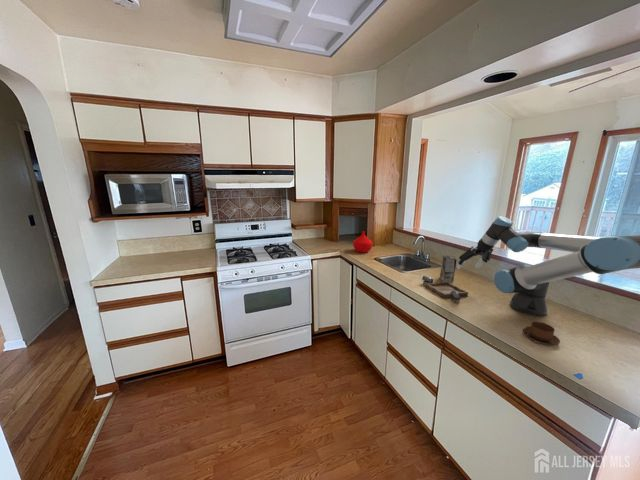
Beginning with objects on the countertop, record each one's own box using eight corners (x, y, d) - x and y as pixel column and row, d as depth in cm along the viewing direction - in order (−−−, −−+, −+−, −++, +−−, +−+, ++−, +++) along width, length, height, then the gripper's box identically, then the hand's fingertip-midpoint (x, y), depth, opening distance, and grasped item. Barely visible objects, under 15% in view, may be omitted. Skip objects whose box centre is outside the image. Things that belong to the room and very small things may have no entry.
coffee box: (453, 283, 164) (457, 259, 161) (442, 282, 166) (446, 258, 162) (449, 278, 173) (452, 255, 170) (439, 277, 174) (442, 255, 171)
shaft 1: (432, 285, 159) (433, 278, 158) (430, 286, 158) (431, 279, 157) (424, 282, 164) (425, 275, 163) (421, 283, 162) (422, 276, 161)
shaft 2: (449, 298, 142) (451, 290, 141) (455, 298, 142) (456, 290, 140) (454, 303, 136) (455, 295, 135) (460, 303, 136) (461, 295, 135)
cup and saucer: (539, 349, 100) (543, 335, 98) (514, 331, 111) (517, 319, 110) (567, 347, 101) (571, 334, 99) (539, 330, 112) (542, 318, 111)
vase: (374, 253, 229) (376, 233, 224) (355, 254, 226) (356, 233, 222) (368, 248, 246) (369, 229, 242) (350, 249, 244) (351, 229, 240)
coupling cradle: (467, 296, 145) (468, 292, 145) (444, 298, 141) (444, 294, 141) (447, 285, 160) (447, 281, 160) (425, 287, 156) (426, 283, 156)
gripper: (501, 237, 145) (479, 263, 158) (465, 236, 139) (446, 263, 152) (510, 246, 139) (487, 272, 153) (473, 245, 133) (453, 272, 147)
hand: (467, 267), depth 152 cm, fingers open, 13 cm apart
